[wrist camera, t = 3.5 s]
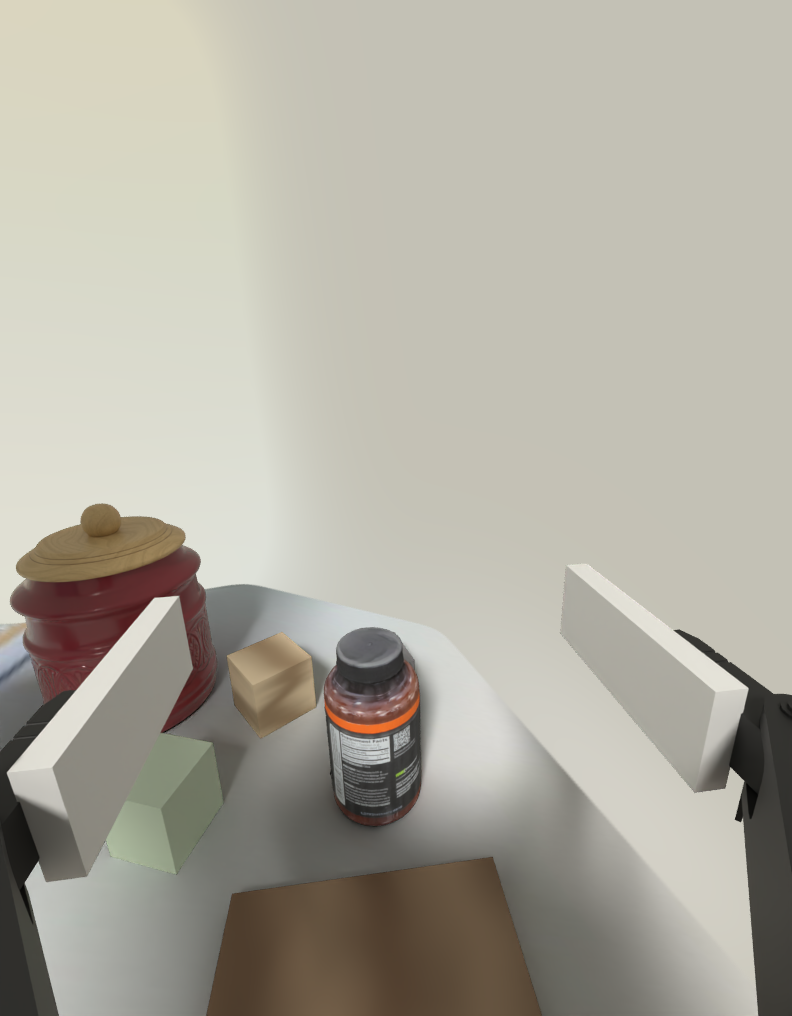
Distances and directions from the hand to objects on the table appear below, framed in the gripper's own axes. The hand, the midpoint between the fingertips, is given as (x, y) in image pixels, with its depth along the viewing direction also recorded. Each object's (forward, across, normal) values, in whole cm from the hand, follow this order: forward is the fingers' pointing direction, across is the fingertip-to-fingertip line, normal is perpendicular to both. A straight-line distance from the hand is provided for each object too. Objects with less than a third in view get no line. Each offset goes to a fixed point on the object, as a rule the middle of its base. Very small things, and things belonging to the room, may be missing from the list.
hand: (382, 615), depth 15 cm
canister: (+22, -20, -19) cm, 35 cm away
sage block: (+9, -13, -19) cm, 25 cm away
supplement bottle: (+10, 0, -19) cm, 22 cm away
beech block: (+19, -8, -19) cm, 28 cm away
